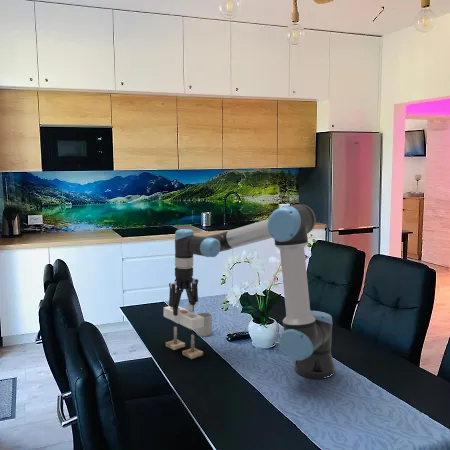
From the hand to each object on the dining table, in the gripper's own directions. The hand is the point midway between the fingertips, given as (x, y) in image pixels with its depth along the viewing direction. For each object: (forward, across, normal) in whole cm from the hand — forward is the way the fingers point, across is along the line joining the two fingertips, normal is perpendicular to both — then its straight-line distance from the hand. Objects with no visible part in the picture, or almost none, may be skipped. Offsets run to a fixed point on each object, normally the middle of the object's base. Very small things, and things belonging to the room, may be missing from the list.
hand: (183, 320), depth 205 cm
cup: (+13, -20, -11) cm, 26 cm away
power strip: (0, 0, 0) cm, 0 cm away
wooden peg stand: (+13, 0, 0) cm, 13 cm away
